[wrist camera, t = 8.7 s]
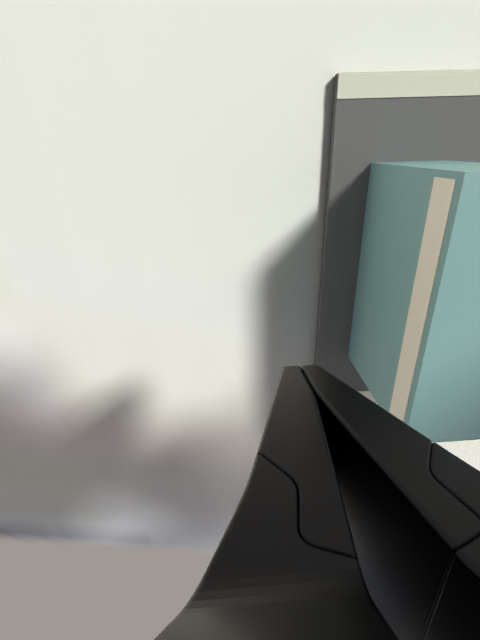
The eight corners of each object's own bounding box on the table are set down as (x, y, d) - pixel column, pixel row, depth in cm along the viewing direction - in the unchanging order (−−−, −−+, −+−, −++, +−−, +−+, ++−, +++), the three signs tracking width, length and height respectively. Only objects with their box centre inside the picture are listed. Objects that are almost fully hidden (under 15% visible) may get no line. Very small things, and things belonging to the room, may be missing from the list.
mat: (691, 66, 14) (705, 64, 14) (556, 385, 20) (562, 389, 20) (335, 74, 13) (338, 73, 13) (312, 401, 20) (314, 406, 19)
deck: (444, 160, 15) (581, 168, 9) (406, 353, 18) (485, 438, 13) (370, 162, 14) (464, 171, 9) (347, 356, 18) (403, 444, 13)
